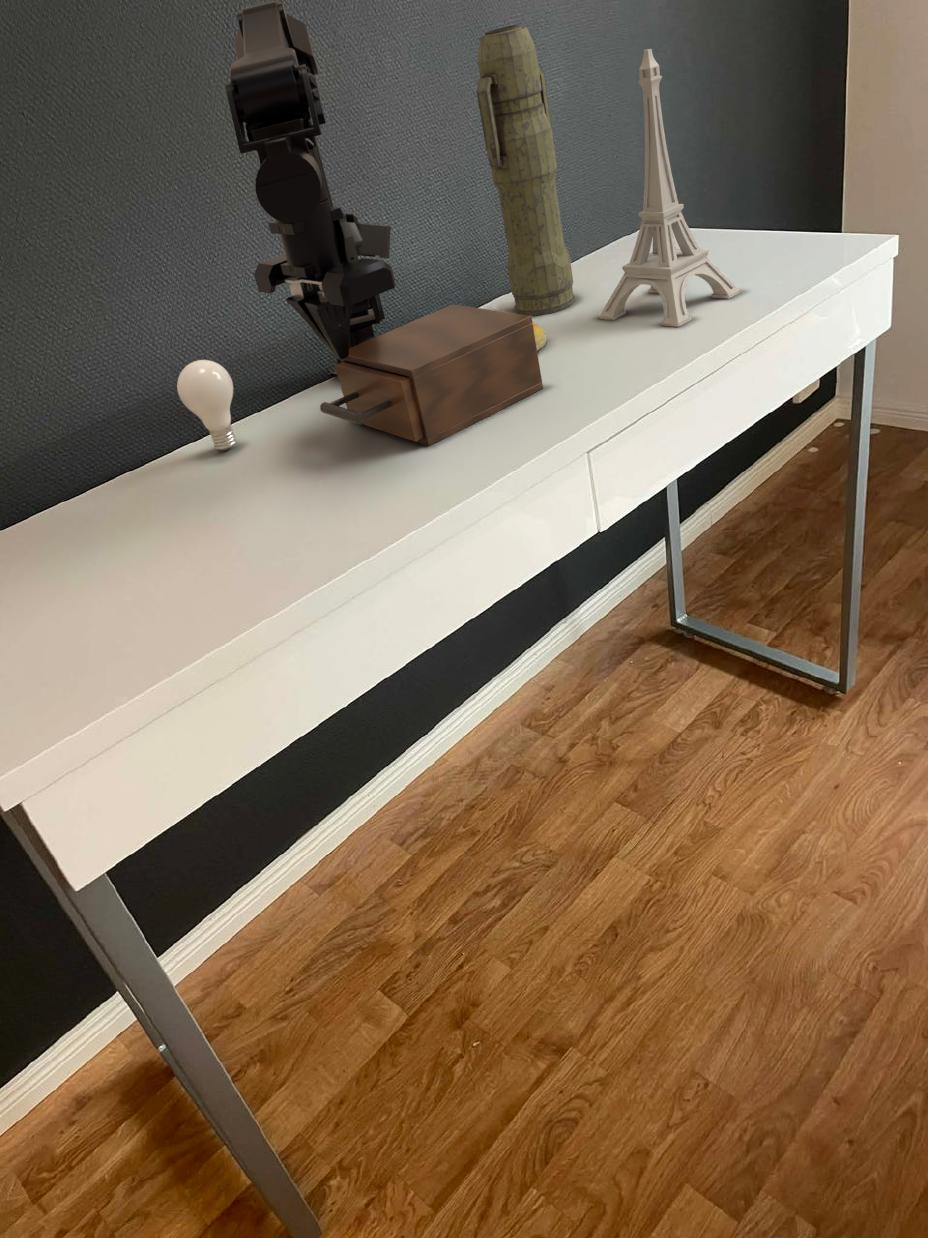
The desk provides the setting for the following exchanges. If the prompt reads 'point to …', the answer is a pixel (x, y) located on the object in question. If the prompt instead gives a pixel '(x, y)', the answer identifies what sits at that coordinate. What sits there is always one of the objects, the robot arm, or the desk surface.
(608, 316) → the eiffel tower
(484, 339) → the cabinet
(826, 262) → the desk surface
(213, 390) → the lightbulb
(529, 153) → the thermos
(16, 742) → the desk surface
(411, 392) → the drawer
